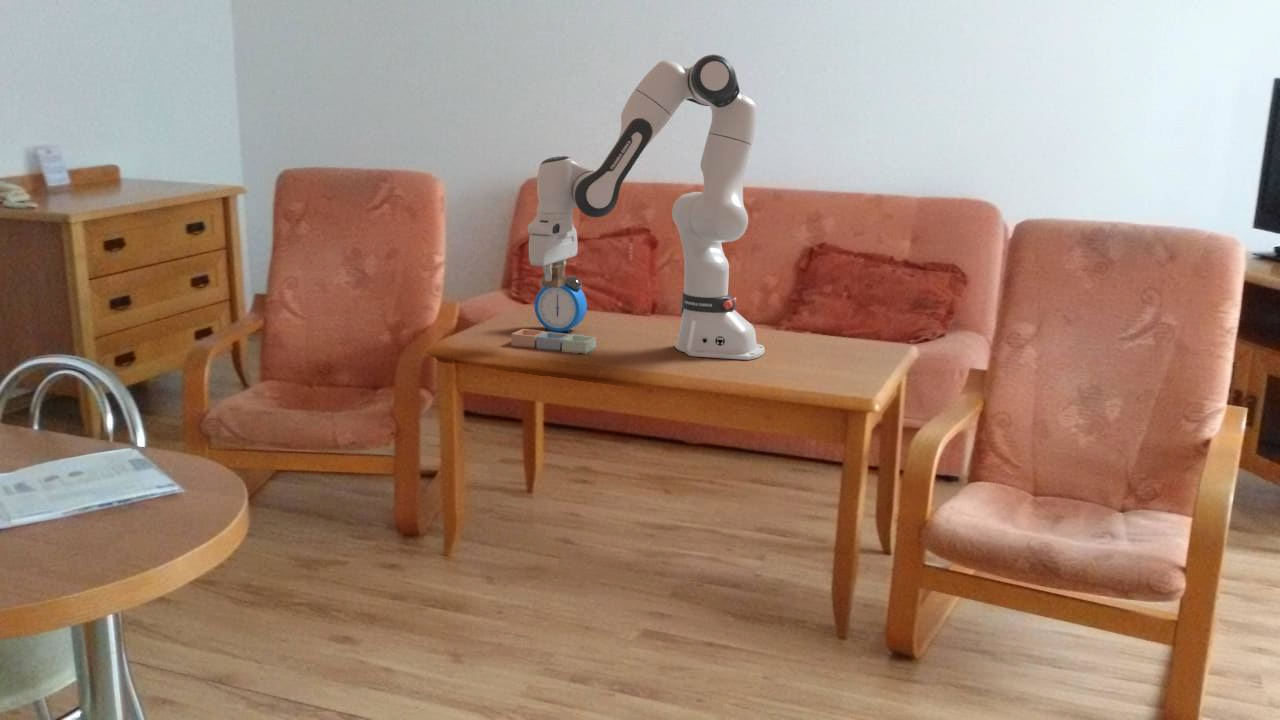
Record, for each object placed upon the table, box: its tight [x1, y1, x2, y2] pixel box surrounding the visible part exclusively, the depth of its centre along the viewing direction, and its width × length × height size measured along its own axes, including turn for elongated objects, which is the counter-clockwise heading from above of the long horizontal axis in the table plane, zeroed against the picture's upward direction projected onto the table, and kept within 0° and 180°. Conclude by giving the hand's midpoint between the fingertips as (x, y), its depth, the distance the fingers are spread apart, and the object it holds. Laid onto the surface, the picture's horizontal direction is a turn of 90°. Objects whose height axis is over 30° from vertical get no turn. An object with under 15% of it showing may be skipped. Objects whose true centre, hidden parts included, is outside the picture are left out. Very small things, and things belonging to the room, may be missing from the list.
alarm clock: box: [533, 275, 588, 334], centre depth 300 cm, size 13×6×15 cm, turn 71°
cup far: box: [511, 328, 547, 349], centre depth 286 cm, size 6×6×3 cm
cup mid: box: [536, 331, 571, 352], centre depth 283 cm, size 6×6×3 cm
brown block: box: [542, 263, 566, 288], centre depth 280 cm, size 4×4×5 cm
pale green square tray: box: [561, 334, 597, 355], centre depth 281 cm, size 6×6×3 cm
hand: (554, 279), depth 280 cm, fingers closed on brown block, 4 cm apart
